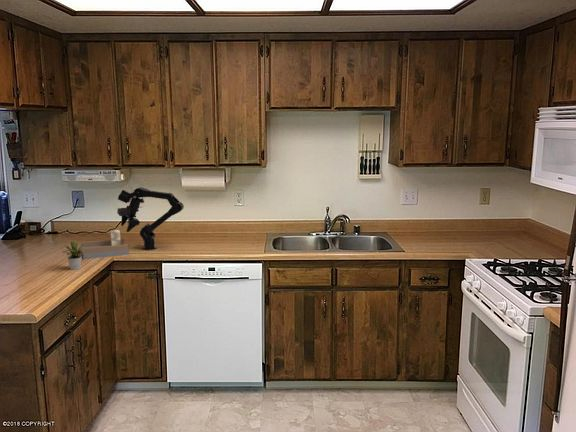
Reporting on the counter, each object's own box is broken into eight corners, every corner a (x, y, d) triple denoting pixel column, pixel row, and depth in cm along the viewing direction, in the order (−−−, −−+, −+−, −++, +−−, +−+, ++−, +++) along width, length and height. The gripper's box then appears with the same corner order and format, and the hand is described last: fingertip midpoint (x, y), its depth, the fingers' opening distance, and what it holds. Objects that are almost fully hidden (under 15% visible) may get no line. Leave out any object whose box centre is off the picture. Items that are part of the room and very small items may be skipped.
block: (119, 245, 302) (118, 229, 300) (120, 247, 297) (120, 231, 295) (111, 246, 299) (110, 230, 298) (112, 248, 295) (111, 232, 293)
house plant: (55, 267, 264) (53, 238, 261) (81, 263, 274) (79, 234, 271) (65, 273, 254) (63, 242, 251) (91, 268, 264) (89, 238, 261)
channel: (124, 247, 309) (123, 238, 308) (128, 254, 294) (128, 244, 292) (81, 251, 298) (80, 242, 297) (83, 258, 282) (83, 248, 281)
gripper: (116, 197, 304) (107, 220, 306) (127, 209, 291) (117, 233, 293) (132, 201, 311) (123, 223, 314) (144, 213, 299) (134, 236, 301)
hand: (124, 228), depth 305 cm, fingers open, 9 cm apart
